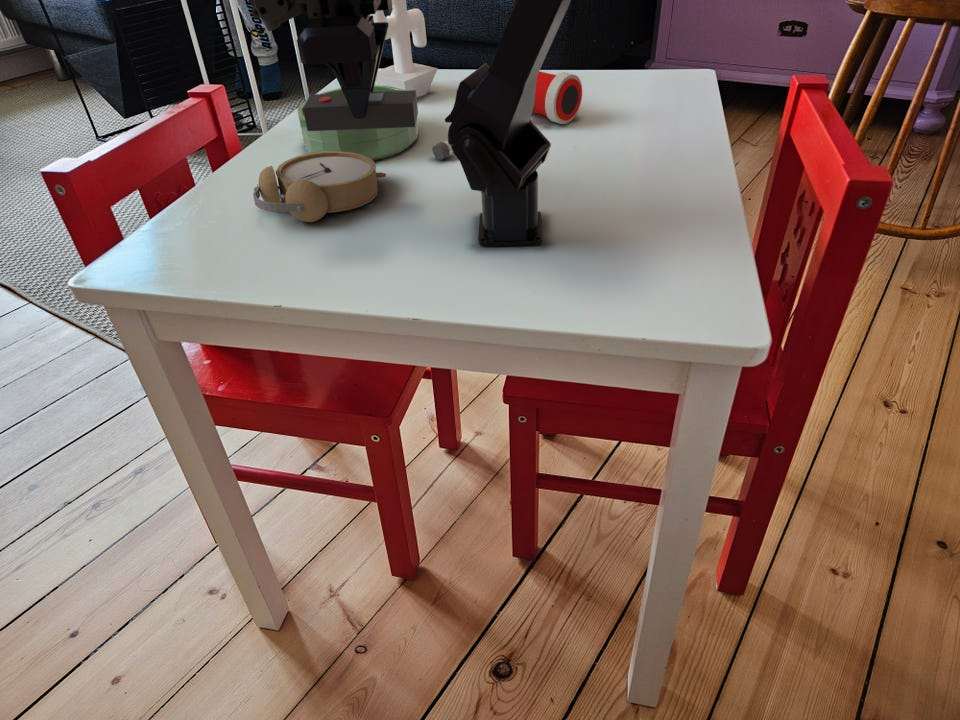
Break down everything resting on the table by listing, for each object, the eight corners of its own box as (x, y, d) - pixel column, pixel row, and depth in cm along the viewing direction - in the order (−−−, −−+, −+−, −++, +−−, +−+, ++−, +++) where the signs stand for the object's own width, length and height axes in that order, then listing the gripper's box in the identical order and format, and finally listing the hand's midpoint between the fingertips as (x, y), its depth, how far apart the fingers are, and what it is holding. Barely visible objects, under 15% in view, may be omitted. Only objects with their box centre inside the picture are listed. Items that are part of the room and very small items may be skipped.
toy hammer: (471, 172, 85) (468, 120, 81) (405, 149, 92) (400, 100, 88) (583, 116, 98) (585, 69, 94) (518, 100, 104) (518, 55, 100)
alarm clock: (398, 165, 81) (289, 191, 70) (398, 207, 83) (293, 237, 73) (335, 144, 87) (226, 164, 76) (336, 183, 89) (231, 208, 79)
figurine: (444, 90, 109) (436, -17, 100) (401, 108, 104) (388, -3, 94) (411, 82, 113) (400, -21, 104) (368, 100, 108) (352, -8, 98)
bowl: (412, 162, 88) (407, 123, 85) (293, 166, 89) (284, 128, 86) (423, 119, 100) (420, 83, 97) (318, 122, 101) (311, 87, 98)
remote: (418, 113, 74) (415, 88, 72) (415, 127, 71) (412, 102, 69) (314, 117, 74) (310, 92, 73) (307, 131, 71) (302, 106, 70)
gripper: (271, -78, 69) (303, 83, 79) (215, -43, 55) (262, 149, 65) (383, -83, 69) (401, 79, 79) (356, -49, 55) (382, 145, 64)
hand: (362, 110), depth 72 cm, fingers closed on remote, 4 cm apart
